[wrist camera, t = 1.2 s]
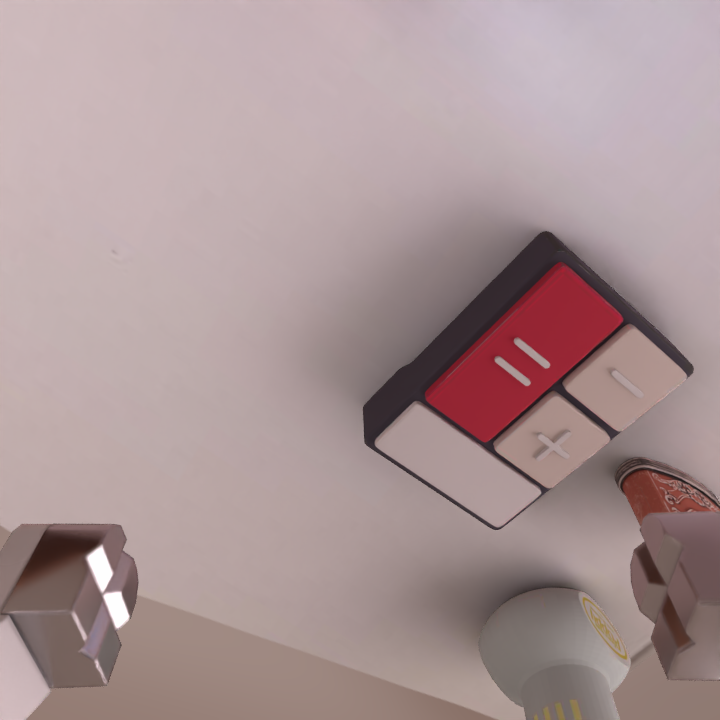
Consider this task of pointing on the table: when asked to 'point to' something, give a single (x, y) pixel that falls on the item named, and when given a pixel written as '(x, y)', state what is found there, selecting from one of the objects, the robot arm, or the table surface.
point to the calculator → (522, 386)
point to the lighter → (661, 489)
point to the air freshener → (555, 655)
